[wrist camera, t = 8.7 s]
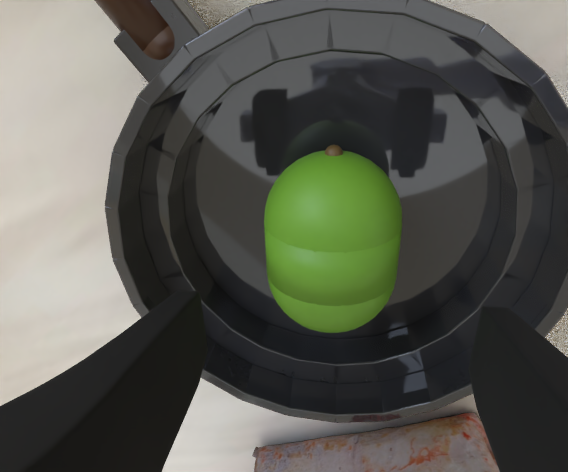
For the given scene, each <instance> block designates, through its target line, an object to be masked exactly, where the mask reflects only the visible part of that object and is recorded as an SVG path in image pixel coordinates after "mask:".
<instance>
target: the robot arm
mask: <svg viewBox="0 0 568 472" xmlns="http://www.w3.org/2000/svg"><path fill="white" fill-rule="evenodd" d="M207 353H208V346H207V339H206V332H205V325H204V318H203V311H202V304H201V297H200V291H181V290H178V291H176V292H175V293H173V294H172V295H171V296H169V297H168V298H167V299H165V300H164V301H163V302H162V303H160V304H159V305H158V306H156V307H155V308H154V309H153V310H151V311H150V312H149V313H147V314H146V315H145V316H144V317H142V318H141V319H140V320H138V321H137V322H136V323H134V324H133V325H132V326H130V327H129V328H128V329H127V330H125V331H124V332H123V333H121V334H120V335H119V336H117V337H116V338H114V339H113V340H111V341H110V342H108V343H107V344H106V345H104V346H103V347H101V348H100V349H98V350H97V351H96V352H94V353H93V354H91V355H90V356H88V357H87V358H85V359H84V360H82V361H81V362H79V363H78V364H76V365H74V366H73V367H71V368H70V369H68V370H66V371H65V372H63V373H61V374H60V375H58V376H56V377H54V378H53V379H51V380H49V381H48V382H46V383H44V384H42V385H41V386H39V387H37V388H35V389H33V390H31V391H29V392H27V393H25V394H23V395H21V396H19V397H17V398H15V399H14V400H12V401H10V402H8V403H6V404H4V405H2V406H0V472H162V469H163V467H164V464H165V461H166V459H167V457H168V455H169V452H170V450H171V448H172V445H173V443H174V441H175V438H176V436H177V434H178V431H179V429H180V427H181V424H182V422H183V420H184V418H185V415H186V413H187V411H188V408H189V406H190V404H191V401H192V399H193V396H194V394H195V392H196V389H197V387H198V384H199V381H200V378H201V374H202V371H203V367H204V364H205V360H206V356H207ZM468 370H469V375H470V380H471V385H472V390H473V394H474V398H475V402H476V407H477V410H478V413H479V416H480V418H481V421H482V424H483V427H484V430H485V433H486V435H487V438H488V441H489V444H490V446H491V449H492V452H493V455H494V457H495V460H496V463H497V466H498V468H499V471H500V472H568V357H566V356H565V355H564V354H563V353H562V352H560V351H559V350H558V349H557V348H556V347H554V346H553V345H552V344H551V343H550V342H549V341H547V340H546V339H545V338H544V337H543V336H542V335H540V334H539V333H538V332H537V331H536V330H535V329H534V328H532V327H531V326H530V325H529V324H528V323H527V322H525V321H524V320H523V319H522V318H521V317H520V316H518V315H517V314H516V313H515V312H513V311H512V310H511V309H510V308H506V307H487V306H482V310H481V314H480V319H479V323H478V328H477V332H476V336H475V341H474V345H473V350H472V354H471V359H470V363H469V367H468Z"/></svg>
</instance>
